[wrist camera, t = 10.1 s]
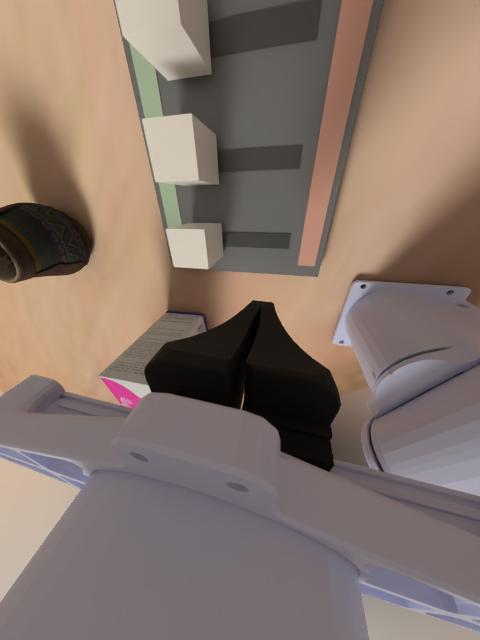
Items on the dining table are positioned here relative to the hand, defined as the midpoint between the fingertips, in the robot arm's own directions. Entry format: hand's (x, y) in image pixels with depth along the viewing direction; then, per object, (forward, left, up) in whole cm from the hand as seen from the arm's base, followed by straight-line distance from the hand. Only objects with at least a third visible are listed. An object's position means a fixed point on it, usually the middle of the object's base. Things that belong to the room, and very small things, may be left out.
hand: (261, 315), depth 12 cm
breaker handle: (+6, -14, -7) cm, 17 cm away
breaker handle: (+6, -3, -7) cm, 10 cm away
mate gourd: (+24, -3, -9) cm, 26 cm away
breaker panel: (+3, -9, -9) cm, 13 cm away
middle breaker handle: (+6, -9, -7) cm, 13 cm away
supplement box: (+11, +9, -9) cm, 17 cm away
